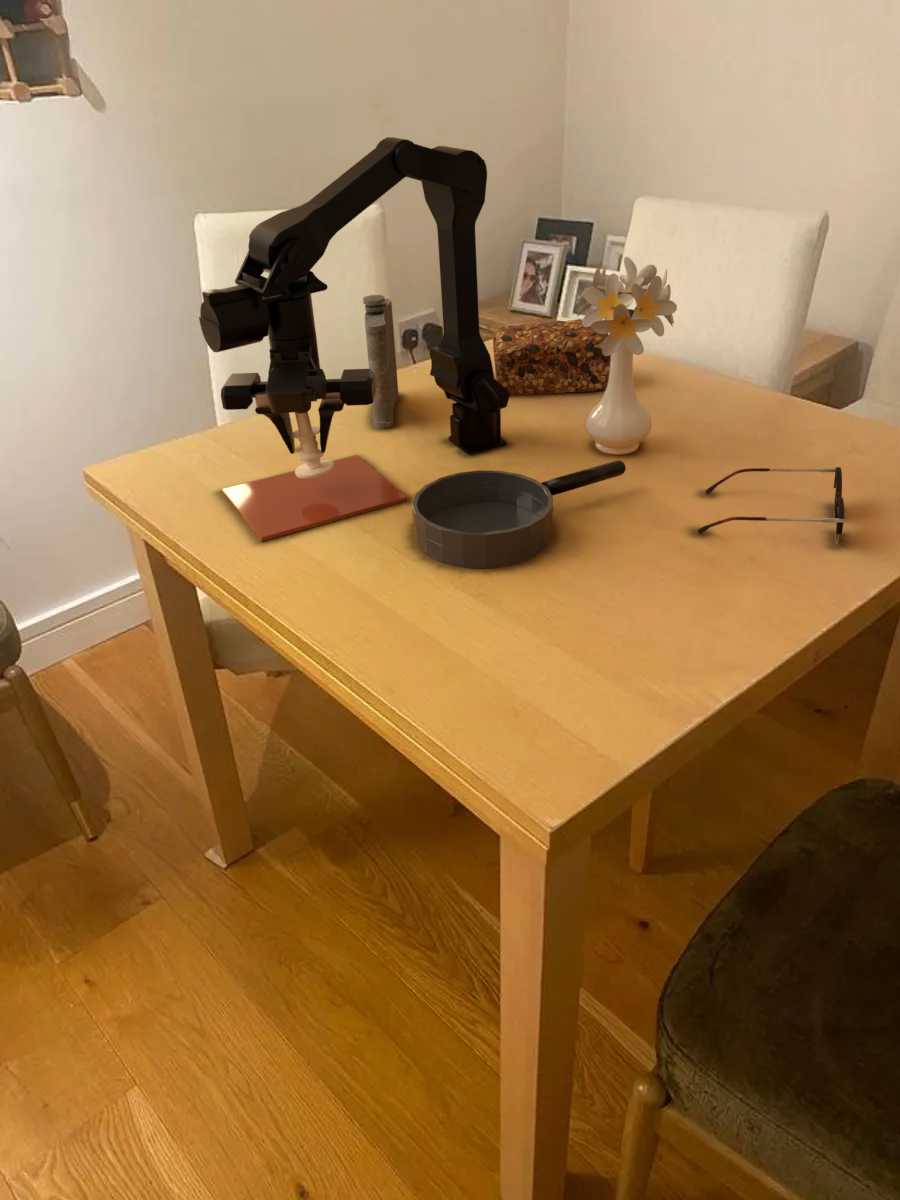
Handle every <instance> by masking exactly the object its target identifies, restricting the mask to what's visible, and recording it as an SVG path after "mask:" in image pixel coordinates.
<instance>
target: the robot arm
mask: <svg viewBox="0 0 900 1200" xmlns="http://www.w3.org/2000/svg"><path fill="white" fill-rule="evenodd" d="M405 178H409V179H413V180H416V181H419V182H420V183H421V186H422V191H423V195H424V200H425V203H426V205H427V207H428V209H429V211H430V213H431V215H432V217H433V219H434V221H435V224H436V229H437V244H438V246H437V247H438V260H439V277H440V295H441V309H442V310H441V311H442V324H443V325H442V326H443V334H442V337H441V339H440V342H439V343H438V345H437V346H431V347H430V348H429V357H430V363H431V366H430V367H431V368H430V372H429V375H430V376H432V377H433V378H434V382H435V384H436V386H438V387H439V388H440V389H441V390H442V391H443V393H444V395H445V398H446V399H448V400H451V401H453V403H452V404H451V408H452V414H450V416H449V427H450V435H449V436H448V442H450V443H452V444H453V445H454V446H456V447H457V448H458V449H460V450H462V451H463V452H464V453H466V454H467V455H473V454H477V453H480V452H485V451H488V450H491V449H495V448H500V447H504V446H507V444H508V441H507V440H506V439H505V438H503V437H502V420H501V419H502V414H501V413H502V411H501V410H502V409H505V408H507V407H508V405H509V404H508V403H509V401H510V400H509V399H510V396H511V394H510V392H509V391H508V390H507V389H506V388H504V387H503V386H502V385H501V384H500V383H499V382H498V381H496V378H495V371H494V367H493V363H492V358H491V354H490V352H489V350H488V348H487V346H486V344H485V342H484V339H483V338H482V336H481V335H482V334H481V332H480V310H479V286H478V285H479V284H478V261H477V259H478V258H477V236H476V223H477V220H478V218H479V216H480V214H481V211H482V209H483V206H484V205H485V201H486V193H487V183H488V168H487V164H486V161H485V160H484V159H483V158H482V157H481V155H479V153H478V152H475V151H474V150H470V149H464V148H459V147H451V146H445V145H437V146H435V147H432V148H431V147H427V146H423V145H420V144H417V143H414V142H413V141H412V140H409V139H405V138H400V137H394V136H388V137H385V138H382V140H380V141H379V142H378V144H376V146H375V147H374V148H373V150H371V151H370V152H368V153H367V154H366V155H364V156H363V157H362V158H361V159H360V160H359V161H357V162H356V163H355V164H353V165H352V166H351V167H349V169H347V170H346V171H345V172H344V173H342V174H341V175H340V176H338V177H337V178H336V179H334V180H333V181H332V182H331V183H329V185H328V184H327V186H326V187H325V188H323V189H322V190H320V192H318V193H317V194H316V195H314V196H313V197H312V198H311V199H309V200H308V201H307V202H305V203H303V204H301V205H298V206H296V207H292V208H290V209H287V210H283V211H281V212H279V213H277V214H274V215H273V216H271V217H269V218H267V219H266V220H263V221H262V222H260V223H258V224H257V225H255V226H254V228H253V229H252V230H251V231H250V233H249V236H248V238H249V240H248V250H247V252H246V255H245V258H244V260H243V261H242V264H241V266H240V269H239V270H238V273H237V275H236V277H235V280H234V283H235V285H234V286H229V287H224V288H219V289H217V288H210V289H205V290H202V293H201V295H202V301H203V302H202V303H201V305H200V311H199V312H200V313H199V314H200V316H199V317H198V320H199V325H200V329H201V332H202V335H203V338H204V340H205V342H206V344H207V346H208V347H209V349H210V350H211V351H212V352H213V353H220V352H225V351H228V350H233V349H237V348H242V347H245V346H249V345H253V344H258V343H261V342H263V340H264V338H266V337H268V343H269V360H270V361H269V367H268V372H267V375H268V376H267V380H265V381H262V378H261V376H260V373H259V372H241V373H240V372H238V373H231V374H230V375H229V376H228V378H227V380H226V381H225V383H224V384H223V385H222V387H221V389H220V399H221V404H222V409H223V410H225V411H231V410H233V411H234V410H248V409H249V408H250V406H251V405H252V404H253V403H254V401H255V406H256V407H255V409H254V411H255V413H256V414H257V415H263V416H265V417H266V418H267V419H269V420H270V421H271V423H272V424H273V425H274V426H275V428H276V430H277V431H278V433H279V435H280V437H281V438H282V441H283V442H284V445H285V446H286V448H287V450H288V451H289V453H290V454H291V455H293V454H295V452H296V447H295V445H296V444H295V438H293V437H292V436H291V435H292V433H293V432H294V431H293V425H292V421H291V415H290V413H295V412H297V413H306V412H308V413H309V411H311V408H312V402H317V401H318V400H321V401H320V404H319V406H318V408H317V410H318V416H319V428H320V432H319V445H320V449H321V452H322V453H324V454H325V453H326V449H327V445H328V440H329V435H330V431H331V425H332V420H333V417H334V414H335V413H336V412H341V411H343V410H344V408H345V405H346V407H347V406H349V407H350V406H369V405H372V403H373V401H374V397H375V393H376V389H377V387H376V376H375V373H374V372H373V371H372V370H371V369H369V368H349V369H346V368H345V369H343V371H342V372H341V376H340V378H327V377H326V374H325V371H324V369H323V368H321V362H320V356H319V355H320V354H319V349H318V348H319V347H318V338H317V331H316V324H315V323H316V322H315V314H314V308H313V307H314V306H313V299H312V294H316V293H319V292H320V293H321V292H324V291H326V290H328V284H327V283H325V282H324V281H322V280H320V279H319V278H318V277H317V276H316V275H315V273H314V271H312V269H313V268H314V266H316V265H317V263H318V262H319V261H320V260H321V259H322V257H323V256H324V254H325V252H326V250H327V248H328V246H329V245H330V241H331V240H332V239H333V238H334V236H336V235H337V234H338V232H339V231H341V230H342V229H343V228H344V227H345V226H347V225H349V223H350V222H352V221H353V220H355V219H356V218H357V217H358V216H359V215H361V214H362V213H363V212H364V211H365V210H366V209H368V208H369V207H370V206H372V205H373V204H374V203H375V202H376V201H378V200H379V199H380V198H382V196H384V195H385V194H386V193H387V192H389V191H390V190H391V189H393V188H394V187H395V186H396V185H397V184H399V183H400V182H401V181H403V180H404V179H405ZM264 272H266V273H268V276H267V277H266V276H264V275H262V274H263V273H264Z"/></svg>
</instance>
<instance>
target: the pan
mask: <svg viewBox="0 0 900 1200" xmlns="http://www.w3.org/2000/svg"><path fill="white" fill-rule="evenodd" d="M541 483H542V482H540V481H538V480H537V479H535V478H532V477H529V476H527V475H524V474H521V473H516V472H511V471H510V472H509V471H503V470H484V469H483V470H481V469H480V470H471V471H461V472H457V473H452V474H448V475H446V476H442V477H439V478H437V479H435V480H433V481H431V482H429V483H426V484H425V485H423V487H422V488H420V489H419V490H418V491H417V492H416V493H415V494H414V497H413V500H412V503H411V510H412V523H413V525H412V526H413V536H414V540H415V544H417V547H418V548H419V550H420V551H422V553H423V554H425V555H426V556H428V557H430V558H431V559H432V560H434V561H437V562H439V563H442V564H446V565H449V566H453V567H459V568H465V569H495V568H496V569H497V568H504V567H508V566H509V567H510V566H512V565H516V564H520V563H523V562H525V561H529V560H530V559H532V558H534V557H536V556H537V555H539V554H541V553H542V552H543V551H544V550H545V549H547V547H548V546H549V544H550V543H551V541H552V539H553V529H554V495H553V496H552V494H551V493H550V491H549V490H548V488H547V487H546V486H544V485H543V484H541Z"/></svg>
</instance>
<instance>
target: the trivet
mask: <svg viewBox="0 0 900 1200" xmlns="http://www.w3.org/2000/svg"><path fill="white" fill-rule="evenodd" d="M331 461H332V462H333V463H334V469H333V471H331V472H330V473H328V474H326V475H324V476H321V477H317V478H310V479H303V478H299V477H297V476H296V475H295V470H291V471H288V472H284V473H280V474H276V475H273V476H268V477H264V478H261V479H257V480H253V481H252V480H251V481H248V482H245V483H242V484H237V485H233V486H229V487H225V488H221V491H222V494H223V495H224V497H225V498H226V499H227V500H228V501H229V503H230V504H231V505H232V506H233V508H234V509H235V510H236V511H237V513H238V514H239V515H240V517H241V518H242V519H243V520H244V521H245V522H246V524H247V525H248V526H249V527H250V528H251V530H252V531H253V533H255V535H256V536H257V537H258V539H259V540H260V541H261V542H265V541H269V540H272V539H276V538H280V537H284V536H287V535H290V534H294V533H297V532H301V531H305V530H308V529H313V528H315V527H318V526H322V525H327V524H330V523H333V522H336V521H341V520H345V519H347V518H351V517H355V516H358V515H361V514H365V513H369V512H372V511H375V510H379V509H383V508H387V507H389V506H394V505H397V504H402V503H404V502H407V501H408V499H407V496H406V495H405V494H404V493H403V492H401V491H400V490H399V489H398V488H397V487H396V486H394V485H393V484H392V483H391V482H390V481H388V479H386V478H385V477H384V476H383V475H381V474H380V473H379V472H378V471H376V469H374V468H373V467H372V466H371V465H369V464H368V463H367V462H366V461H365V460H364V459H362V458H361V457H360V456H359V455H358V454H355V455H351V456H347V457H343V458H339V459H335V460H331Z"/></svg>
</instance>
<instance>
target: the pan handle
mask: <svg viewBox="0 0 900 1200" xmlns="http://www.w3.org/2000/svg"><path fill="white" fill-rule="evenodd" d="M626 471H627V467H626V463H624V462H623V461H622V460H619V459H617V460H614V461H610V462H606V463H603V464H600V465H596V466H592V467H589V468H585V469H582V470H578V471H574V472H572V473H568V474H565V475H561V476H558V477H555V478H551V479H547V480H544V481H541V482H540V483H541V484H543V485H544V486H546V487H547V488H548V490H549V491H550V493H551V494H552V496H553V497H554V496H556V495H560V494H563V493H567V492H570V491H573V490H576V489H580V488H583V487H587V486H590V485H593V484H597V483H600V482H604V481H607V480H610V479H613V478H617V477H620V476H622V475H624V474H625V473H626Z"/></svg>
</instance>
